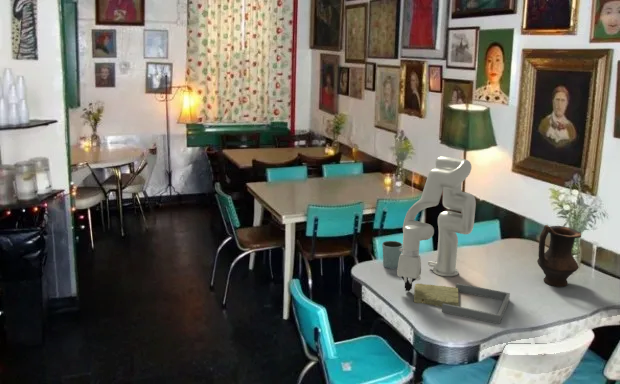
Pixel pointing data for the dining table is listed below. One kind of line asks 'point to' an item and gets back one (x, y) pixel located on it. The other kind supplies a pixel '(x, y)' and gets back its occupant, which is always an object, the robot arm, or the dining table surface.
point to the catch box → (475, 313)
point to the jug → (557, 254)
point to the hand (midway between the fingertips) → (408, 290)
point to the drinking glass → (391, 254)
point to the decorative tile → (436, 295)
